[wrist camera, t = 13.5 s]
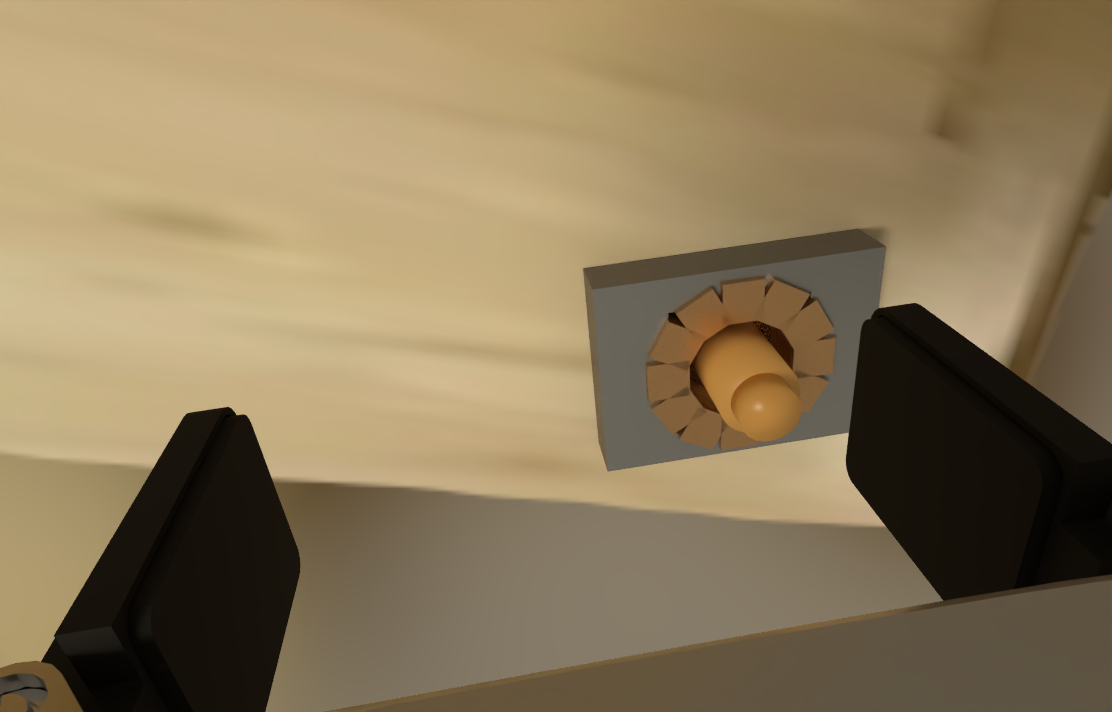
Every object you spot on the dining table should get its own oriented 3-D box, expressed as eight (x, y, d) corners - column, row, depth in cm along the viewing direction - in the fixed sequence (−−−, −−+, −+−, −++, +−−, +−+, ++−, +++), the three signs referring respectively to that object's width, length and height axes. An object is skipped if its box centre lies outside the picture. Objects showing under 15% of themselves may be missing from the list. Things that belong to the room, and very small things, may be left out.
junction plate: (858, 228, 41) (886, 246, 39) (839, 404, 47) (862, 430, 45) (583, 268, 40) (592, 289, 38) (598, 442, 46) (607, 471, 44)
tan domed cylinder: (757, 303, 43) (816, 372, 36) (755, 366, 45) (810, 442, 38) (684, 315, 43) (729, 387, 36) (686, 378, 45) (729, 457, 38)
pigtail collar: (814, 245, 41) (842, 267, 38) (801, 402, 47) (826, 433, 44) (629, 272, 41) (643, 296, 38) (638, 428, 46) (651, 461, 43)
